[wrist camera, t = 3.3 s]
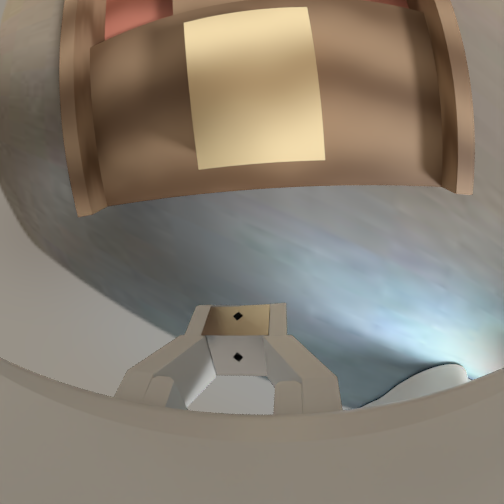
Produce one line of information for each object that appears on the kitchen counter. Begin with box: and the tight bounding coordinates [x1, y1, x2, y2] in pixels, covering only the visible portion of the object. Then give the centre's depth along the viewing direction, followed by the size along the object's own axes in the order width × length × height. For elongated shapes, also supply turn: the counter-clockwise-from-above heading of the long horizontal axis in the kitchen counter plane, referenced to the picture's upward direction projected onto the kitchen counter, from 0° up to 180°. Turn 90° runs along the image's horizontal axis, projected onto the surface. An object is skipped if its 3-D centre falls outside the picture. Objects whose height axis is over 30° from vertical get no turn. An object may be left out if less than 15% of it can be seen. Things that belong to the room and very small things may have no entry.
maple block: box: [184, 7, 325, 170], centre depth 13 cm, size 8×6×4 cm
